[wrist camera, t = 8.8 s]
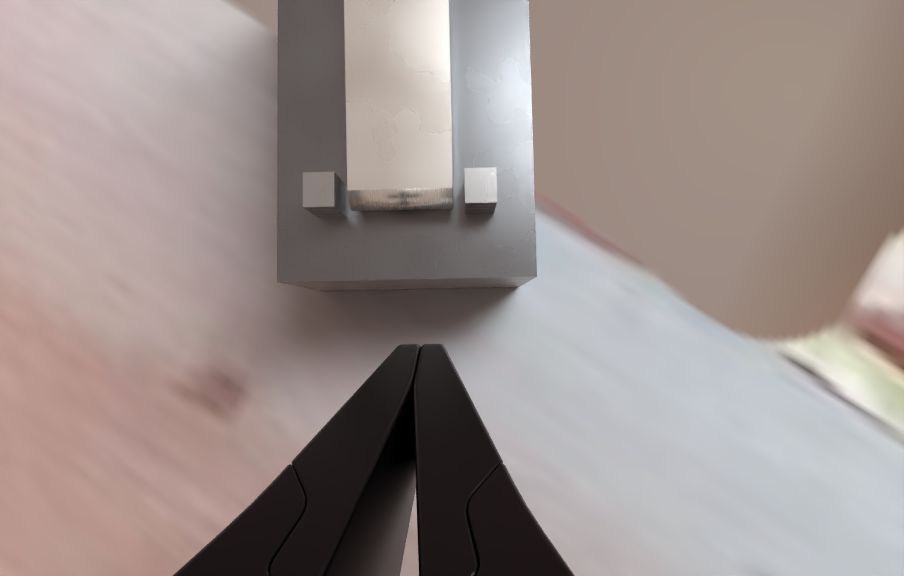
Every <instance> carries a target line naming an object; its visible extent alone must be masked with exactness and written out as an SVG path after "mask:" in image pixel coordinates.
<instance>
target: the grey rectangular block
mask: <svg viewBox="0 0 904 576" xmlns="http://www.w3.org/2000/svg"><path fill="white" fill-rule="evenodd" d="M449 17H450V65H451V113H452V161H453V209H414V210H374V211H351V209H350V206H349V202H348V193H347V140H346V84H345V29H344V0H278V261H277V282H280V283H285V284H290V285H295V286H300V287H305V288H311V289H316V290H321V291H344V290H391V289H439V288H486V287H520V286H521V285H523V284H525V283H526V282H528V281H530V280H532V279H533V278H535V277H537V267H536V233H535V200H534V169H533V136H532V103H531V101H532V100H531V70H530V69H531V67H530V34H529V0H449Z"/></svg>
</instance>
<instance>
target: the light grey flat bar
mask: <svg viewBox="0 0 904 576" xmlns="http://www.w3.org/2000/svg"><path fill="white" fill-rule="evenodd" d="M344 29H345V84H346V140H347V193H348V202H349V206H350V209H351V211H374V210H414V209H453V161H452V113H451V65H450V17H449V0H344Z"/></svg>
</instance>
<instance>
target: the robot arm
mask: <svg viewBox="0 0 904 576" xmlns="http://www.w3.org/2000/svg"><path fill="white" fill-rule="evenodd" d="M415 489H416V497H417V526H418V554H419V576H575V575H574V574H573V573H572V571H571V570H570V568H569V567H568V565H567V564H566V563H565V561H564V560H563V558H562V557H561V556H560V554H559V553H558V551H557V550H556V548H555V547H554V546H553V544H552V543H551V541H550V540H549V538H548V537H547V536H546V534H545V533H544V531H543V530H542V528H541V527H540V525H539V524H538V522H537V521H536V519H535V517H534V516H533V514H532V513H531V511H530V510H529V508H528V507H527V505H526V503H525V502H524V500H523V498H522V496H521V494H520V493H519V491H518V489H517V487H516V485H515V484H514V482H513V480H512V478H511V476H510V474H509V472H508V470H507V468H506V466H505V465H504V464H503V461H502V459H501V457H500V455H499V453H498V451H497V449H496V447H495V445H494V443H493V441H492V439H491V437H490V435H489V433H488V431H487V429H486V427H485V426H484V424H483V422H482V420H481V418H480V416H479V414H478V412H477V410H476V408H475V406H474V404H473V402H472V400H471V398H470V396H469V394H468V392H467V390H466V388H465V386H464V384H463V382H462V380H461V378H460V376H459V374H458V372H457V371H456V369H455V367H454V365H453V363H452V361H451V359H450V357H449V355H448V353H447V351H446V349H445V347H444V346H443V345H442V344H424V345H423V346H422V347H421V346H420V345H418V344H409V345H399V346H398V347H397V348H396V349H395V350H394V351H393V352H392V353H391V354H390V355H389V356H388V358H387V359H386V360H385V361H384V362H383V363H382V364H381V365H380V366H379V367H378V368H377V369H376V371H375V372H374V373H373V374H372V375H371V376H370V377H369V378H368V379H367V380H366V381H365V383H364V384H363V385H362V386H361V387H360V388H359V389H358V390H357V391H356V392H355V393H354V394H353V396H352V397H351V398H350V399H349V400H348V401H347V402H346V403H345V404H344V405H343V406H342V408H341V409H340V410H339V411H338V412H337V413H336V414H335V415H334V416H333V417H332V418H331V419H330V421H329V422H328V423H327V424H326V425H325V426H324V427H323V428H322V429H321V430H320V431H319V432H318V434H317V435H316V436H315V437H314V438H313V439H312V440H311V441H310V442H309V443H308V444H307V446H306V447H305V448H304V449H303V450H302V451H301V452H300V453H299V454H298V455H297V456H296V457H295V459H294V460H293V461H292V465H291V464H290V465H288V466H287V467H286V468H285V469H284V470H283V471H282V472H281V473H280V475H279V476H278V477H277V478H276V479H275V480H274V481H273V482H272V483H271V484H270V485H269V486H268V487H267V488H266V489H265V490H264V491H263V492H262V493H261V494H260V495H259V496H258V498H257V499H256V500H255V501H254V502H253V503H252V504H251V505H250V506H249V507H248V508H246V509H245V510H244V511H243V512H242V513H241V514H240V515H239V516H238V517H237V518H236V519H235V520H234V521H233V522H232V523H230V524H229V525H228V526H227V527H226V528H225V529H224V530H223V531H222V532H221V533H220V534H219V535H217V536H216V537H215V538H214V539H213V540H212V541H211V542H210V543H209V544H207V545H206V546H205V547H204V548H203V549H202V550H201V551H200V552H199V553H197V554H196V555H195V556H194V557H193V558H192V559H191V560H190V561H189V562H187V563H186V564H185V565H184V566H183V567H182V568H181V569H180V570H179V571H178V572H176V573H175V574H174V575H173V576H400V571H401V565H402V560H403V554H404V549H405V543H406V538H407V533H408V527H409V522H410V516H411V511H412V505H413V500H414V495H415Z"/></svg>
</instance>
